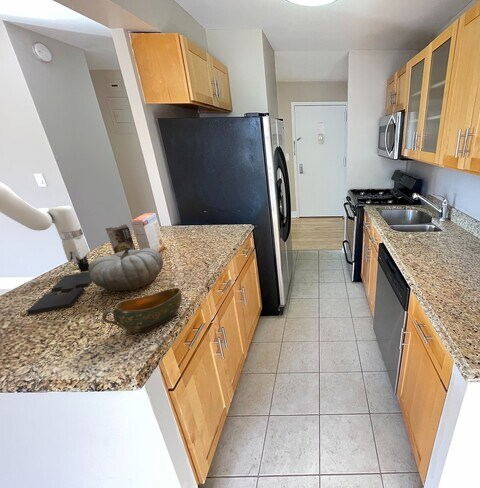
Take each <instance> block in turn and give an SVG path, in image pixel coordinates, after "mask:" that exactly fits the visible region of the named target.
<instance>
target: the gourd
mask: <svg viewBox="0 0 480 488" xmlns="http://www.w3.org/2000/svg"><path fill="white" fill-rule="evenodd" d="M163 267H164V259H163V256H162V254H161V253H160V252H158V251H156V250H155V249H151V248H144V249H141V250H140V249H136V250H129V247H126V250H125V251H121V252H118V253H115V254H114V253H113V254H112V255H111V254H110V255H103V256H99V257H97V258H94V259H93V260H92V261H91V262H90V263H89V268H88V270H89V271H88V272H89V276H90V279H91V281H92V283H93V284H94V285H96V286H98V288H101V289H104V290H112V291H126V290H128V291H133V290H138V289H140V288H142V287H144V286H145V285H146V284H148V283H150V282H152V281H154V280H155V279H156V277H158V275H159V274H160V273H161V272H162V269H163Z"/></svg>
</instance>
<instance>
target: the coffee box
mask: <svg viewBox="0 0 480 488" xmlns="http://www.w3.org/2000/svg"><path fill="white" fill-rule="evenodd" d="M105 231H106V234H107V237H108V239H109V242H110V245H111V247H112V251H113V254H115V253H118V252H121V251H125V250H126V247H129V250H137V248H136V246H135V243H134V239H133V236H132V233H131V231H130V228H129V226H128V225H127V224H121V225H116V226H111V227H106V228H105Z"/></svg>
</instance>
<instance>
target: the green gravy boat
mask: <svg viewBox="0 0 480 488" xmlns="http://www.w3.org/2000/svg"><path fill="white" fill-rule="evenodd" d="M181 304H182V291H181V289H180V288H179V287H174V288H168V289H165V290H161V291H159V292H155V293H153V294H149V295H144V296H140V297H134V298H129V299H125V300H121V301H118V302H117V303H116V304H115V305H114V308H113V309H107V310H104V311H103V312H102V315H101V319H102V321H103V322H105V323H107V324H111V325H114V326H117V327H119V328H120V329H121V330H126V331H128V332H130V333H132V334H140V333H143V332H146V331H149V330H151V329H153V328H156V327H159V326H160V325H162V324H164V323H166V322H168V321H169V320H171V319H173V317H175V316H176V314H178V310H179V309H180V306H181ZM110 313H112V314H113V321H112V320H108V319H107V316H108V314H110Z"/></svg>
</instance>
